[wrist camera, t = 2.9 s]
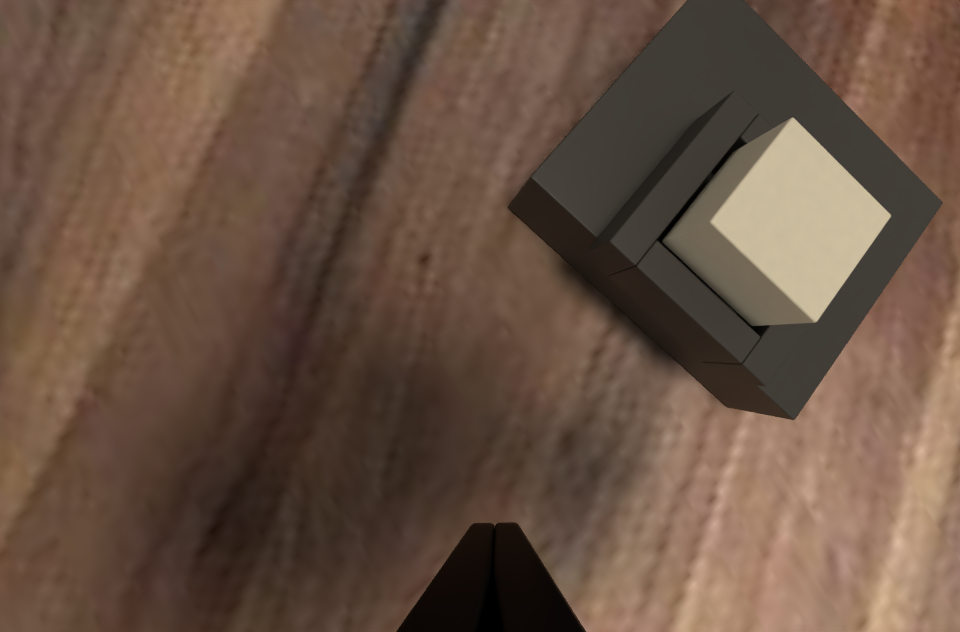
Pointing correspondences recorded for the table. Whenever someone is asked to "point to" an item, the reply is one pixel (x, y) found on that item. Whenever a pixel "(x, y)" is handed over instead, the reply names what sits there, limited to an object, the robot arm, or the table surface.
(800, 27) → the table surface
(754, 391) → the stepped base
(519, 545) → the robot arm
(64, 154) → the table surface
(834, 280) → the cream block
